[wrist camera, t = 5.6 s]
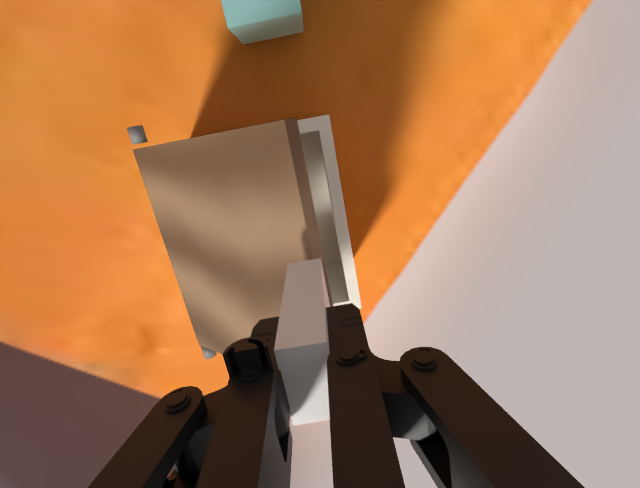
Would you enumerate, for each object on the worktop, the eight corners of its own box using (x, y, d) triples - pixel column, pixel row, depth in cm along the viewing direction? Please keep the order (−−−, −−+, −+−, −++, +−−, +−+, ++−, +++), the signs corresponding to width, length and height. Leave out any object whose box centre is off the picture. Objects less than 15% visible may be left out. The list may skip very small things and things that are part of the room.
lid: (144, 147, 24) (132, 149, 23) (296, 117, 16) (284, 119, 15) (207, 339, 28) (199, 345, 28) (349, 388, 21) (341, 398, 20)
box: (178, 124, 32) (124, 128, 23) (321, 96, 32) (325, 88, 22) (229, 299, 38) (203, 359, 28) (352, 277, 37) (366, 331, 28)
